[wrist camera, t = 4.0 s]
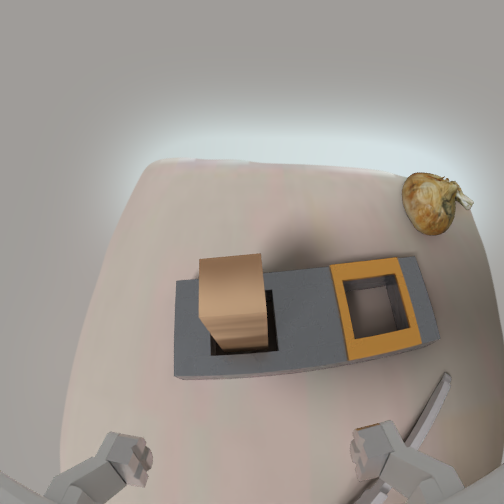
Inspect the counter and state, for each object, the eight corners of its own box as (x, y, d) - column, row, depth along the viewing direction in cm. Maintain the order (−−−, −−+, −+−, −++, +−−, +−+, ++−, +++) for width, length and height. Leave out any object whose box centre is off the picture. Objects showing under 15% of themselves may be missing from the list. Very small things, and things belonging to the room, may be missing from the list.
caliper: (315, 538, 14) (327, 566, 9) (307, 533, 14) (317, 562, 9) (449, 378, 21) (486, 364, 16) (442, 372, 21) (478, 358, 16)
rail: (428, 345, 23) (441, 337, 21) (182, 379, 23) (172, 375, 21) (406, 268, 28) (415, 254, 25) (183, 291, 28) (175, 279, 26)
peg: (268, 349, 25) (266, 312, 16) (224, 352, 25) (198, 317, 16) (264, 308, 27) (260, 253, 18) (223, 312, 27) (199, 259, 18)
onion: (427, 194, 34) (447, 151, 27) (453, 240, 29) (483, 200, 22) (384, 198, 33) (402, 151, 27) (410, 250, 29) (438, 205, 22)
